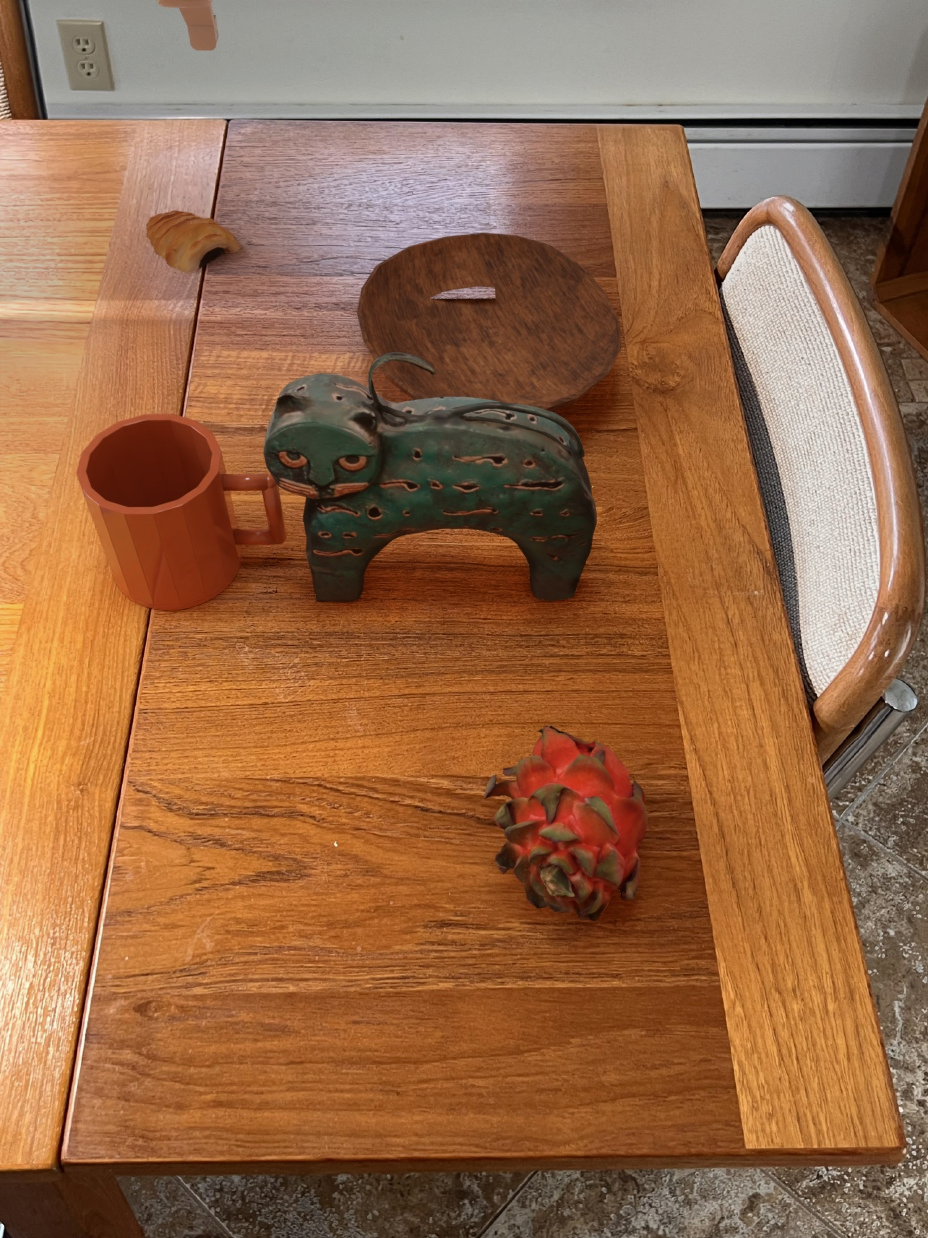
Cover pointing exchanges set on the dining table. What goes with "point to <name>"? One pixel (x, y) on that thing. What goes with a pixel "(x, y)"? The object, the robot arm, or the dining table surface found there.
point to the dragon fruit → (571, 825)
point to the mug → (170, 509)
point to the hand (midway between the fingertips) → (214, 13)
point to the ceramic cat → (428, 477)
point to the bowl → (490, 321)
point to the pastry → (188, 240)
